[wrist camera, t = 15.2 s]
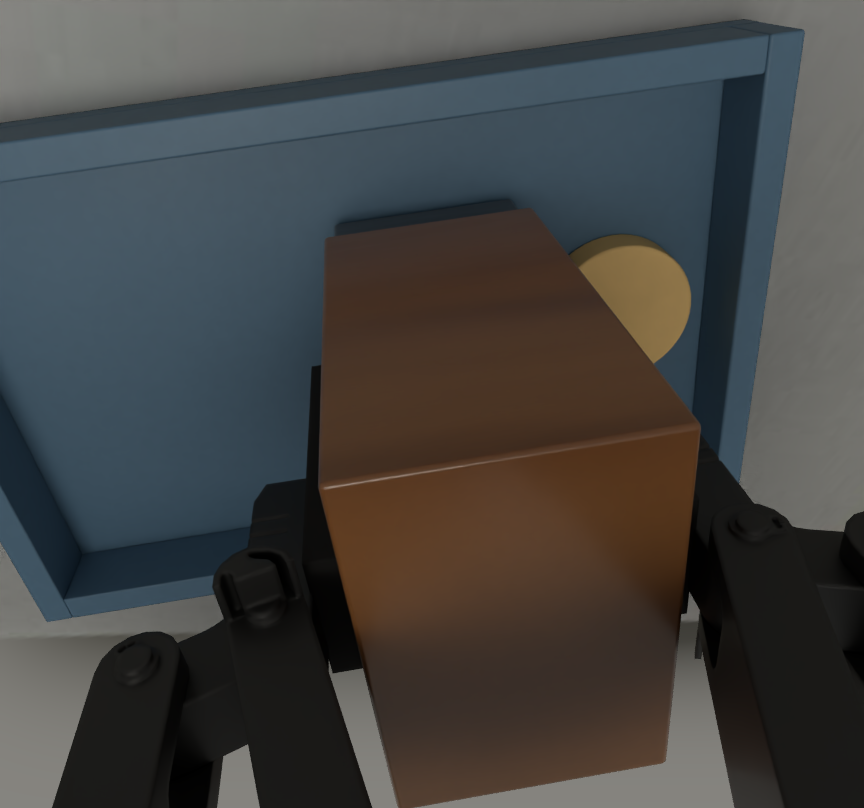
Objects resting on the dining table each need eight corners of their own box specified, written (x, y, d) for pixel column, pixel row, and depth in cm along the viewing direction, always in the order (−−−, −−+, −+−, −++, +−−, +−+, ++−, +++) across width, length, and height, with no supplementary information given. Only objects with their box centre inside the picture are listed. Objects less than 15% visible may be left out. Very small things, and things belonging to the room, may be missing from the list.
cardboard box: (324, 217, 18) (316, 486, 9) (518, 189, 19) (704, 423, 9) (371, 457, 22) (398, 812, 13) (530, 432, 23) (667, 765, 13)
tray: (74, 558, 25) (46, 622, 22) (-141, 142, 17) (-216, 172, 15) (698, 457, 25) (736, 509, 23) (745, 18, 18) (806, 29, 16)
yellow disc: (543, 372, 22) (551, 389, 21) (538, 244, 20) (547, 257, 19) (673, 351, 22) (687, 367, 21) (682, 222, 20) (698, 235, 19)
